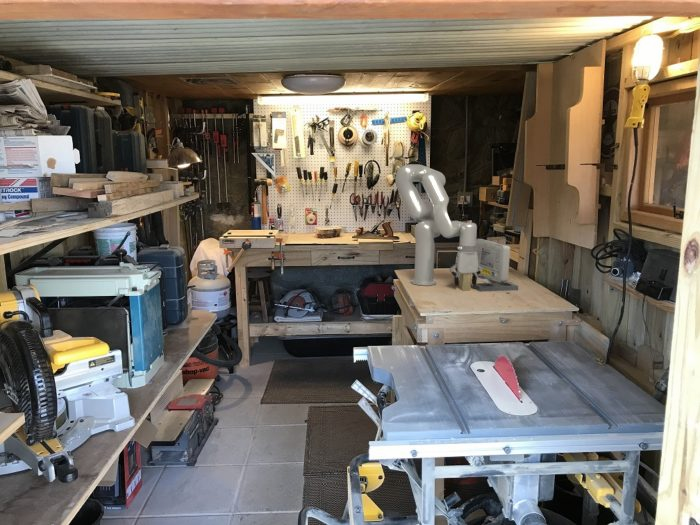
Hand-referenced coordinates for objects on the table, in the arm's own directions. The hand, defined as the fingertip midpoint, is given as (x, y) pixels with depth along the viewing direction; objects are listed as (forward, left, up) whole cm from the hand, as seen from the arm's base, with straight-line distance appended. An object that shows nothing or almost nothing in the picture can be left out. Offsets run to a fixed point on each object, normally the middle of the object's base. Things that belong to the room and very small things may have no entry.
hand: (465, 284), depth 262 cm
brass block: (0, 0, -3) cm, 3 cm away
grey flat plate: (0, +16, -3) cm, 16 cm away
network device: (-17, +21, -3) cm, 27 cm away
